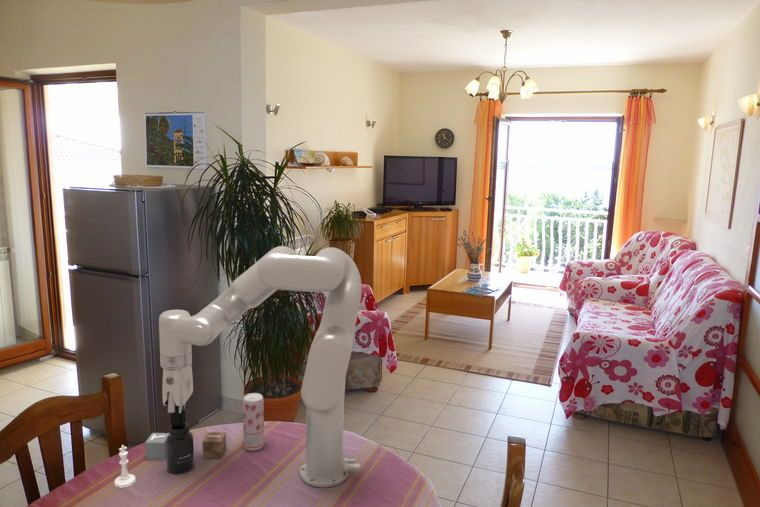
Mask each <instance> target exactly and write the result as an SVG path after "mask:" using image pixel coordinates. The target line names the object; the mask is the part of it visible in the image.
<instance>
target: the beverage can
mask: <svg viewBox="0 0 760 507" xmlns="http://www.w3.org/2000/svg"><path fill="white" fill-rule="evenodd" d="M264 402H265V400H264V396H263V395H262V394H261V393H260V392H259V393H258V392H251V393H247V394H245V395H244V396H243V400H242V408H243V409H242V411H243V412H242V413H243V414H242V417H243V419H242V420H243V421H242V424H243V425H242V426H243V430H242V431H243V448H244V449H245V450H246V451H250V452H254V451H258V450H261V449H262V448H263V447H264V446H265V417H264V416H265V413H264V412H265V410H264V407H265V406H264Z"/></svg>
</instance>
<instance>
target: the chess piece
mask: <svg viewBox="0 0 760 507" xmlns="http://www.w3.org/2000/svg"><path fill="white" fill-rule="evenodd" d="M118 450H119V452H118V456H119V457H120V460H119V465H121V471H120V472H121V474H120V475H119V476H117V477H116V478H115V479H114V486H115V487H116V488H118V487H119V489H120V488H121V489H125V488H128V486H129V487H131V486H133V485H134V484H135V483H136V480H137V479H136V475H134V474H132V473H129V471H128V467H127V465H128V463H129V459H127V457H128V454H129V451H127V450H128V447H127V446H125V445H124V444H122V445H121V447H120V448H118ZM133 483H134V484H133ZM124 487H125V488H124Z"/></svg>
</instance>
